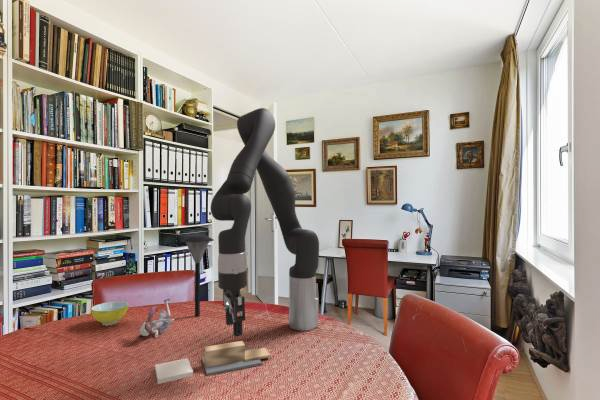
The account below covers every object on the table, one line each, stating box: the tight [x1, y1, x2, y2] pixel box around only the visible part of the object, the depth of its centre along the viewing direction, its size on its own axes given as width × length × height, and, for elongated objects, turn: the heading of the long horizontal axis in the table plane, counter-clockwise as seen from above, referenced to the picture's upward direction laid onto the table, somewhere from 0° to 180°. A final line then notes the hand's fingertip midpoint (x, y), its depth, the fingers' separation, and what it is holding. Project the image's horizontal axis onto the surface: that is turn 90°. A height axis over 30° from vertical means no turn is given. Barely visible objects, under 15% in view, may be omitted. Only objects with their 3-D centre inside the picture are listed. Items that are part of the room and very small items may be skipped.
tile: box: [154, 357, 194, 385], centre depth 84 cm, size 2×8×8 cm
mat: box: [201, 348, 263, 377], centre depth 89 cm, size 14×9×1 cm, turn 114°
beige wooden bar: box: [204, 340, 271, 367], centre depth 90 cm, size 17×5×4 cm, turn 113°
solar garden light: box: [180, 234, 215, 318], centre depth 125 cm, size 12×12×30 cm
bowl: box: [90, 301, 129, 327], centre depth 117 cm, size 11×12×6 cm
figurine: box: [138, 297, 175, 338], centre depth 108 cm, size 12×9×15 cm
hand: (233, 329), depth 89 cm, fingers open, 8 cm apart
